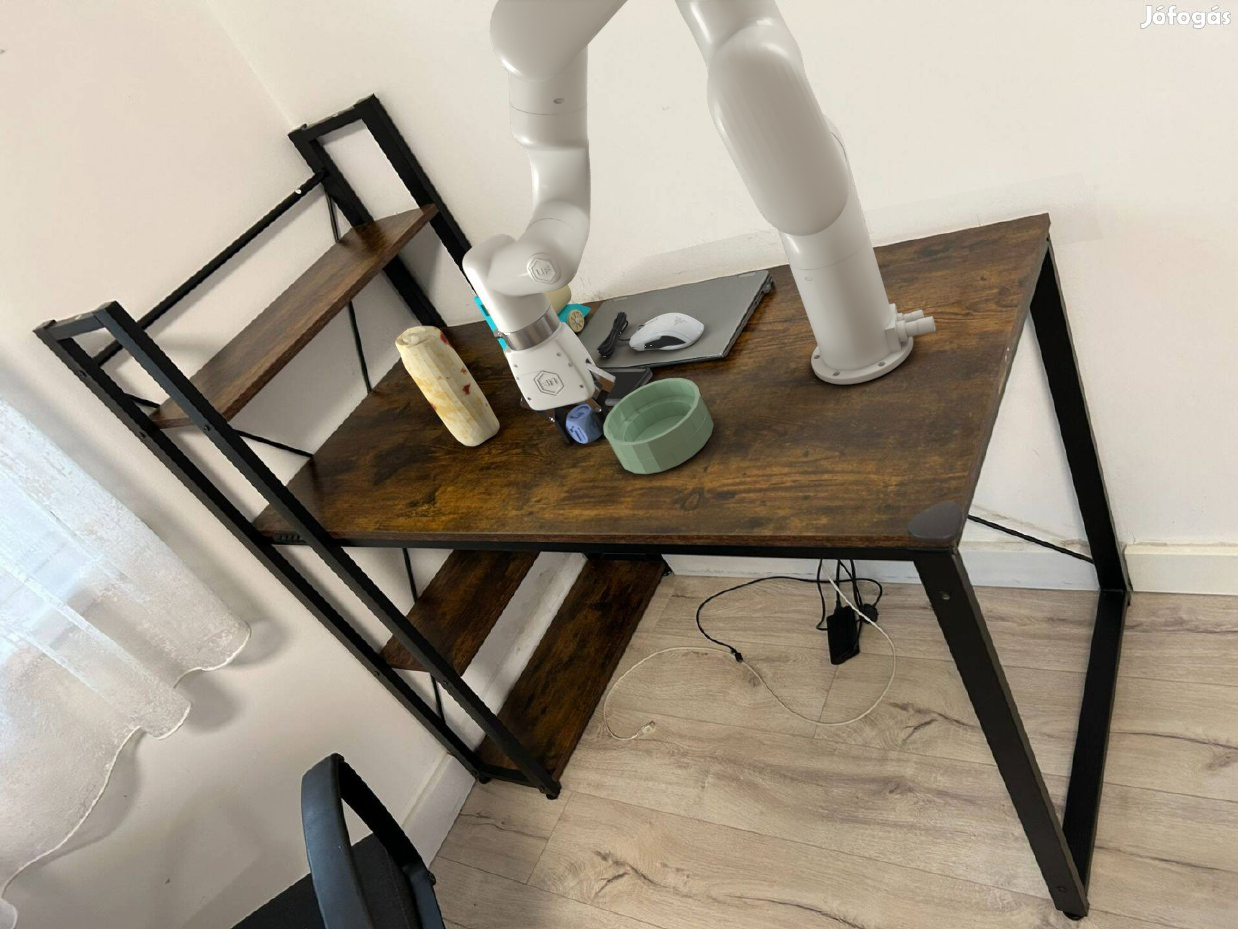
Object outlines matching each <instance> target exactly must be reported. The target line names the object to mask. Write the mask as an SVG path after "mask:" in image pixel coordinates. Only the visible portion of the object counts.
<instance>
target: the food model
mask: <svg viewBox="0 0 1238 929" xmlns="http://www.w3.org/2000/svg"><path fill="white" fill-rule="evenodd" d="M395 346H396V348H397V350H398V352H399V353H400V357H401V361H402V363H403V366H404V368H405V369H406V371H407V373H408V374H409V375H410V376H411V378H412V379H413V381H414V382H415V383H416V386H418V388H419V389H420V391H421V393H422V394H423V395H424V397H425V398H426V400H427V401H428V403H429V404H430V406H431V407H432V408H433V410H434V411H435V413H436V414H437V415H438V417H439V418H440V419H441V421H442V423H443V424H444V426H446V428H447V430H448V431H449V432H450V433H451V434H452V436H453V437H454V438H455V439H456V440H457V441H458V442H459V443H461V444H463V445H464V446H466V447H477V446H480V444H482V443H484V442H485V441H487V440H488V439H490V438H492V437H494V436H495V435H497V434H498V432H499V429H500V422H499V419H498V418H497V417H496V415H495V413H494V411H493V409H492V407H491V405H490V404H489V401H488V400H487V398H486V396H485V395H484V393H483V392H482V389H481V388H480V387H479V385H478V383H477V382H476V380H475V378H473V375H472V374H471V373H470V371H469V369H468V368H467V365H465V363H464V361H463V359H461V357H460V356H459V354H458V353H457V352H456V350H455V349H454V348H453V346H452V345H451V343H450V342H449V340H448V339H447V337H446V336H445V334H444V333H443V331H442V330H440V329H439V328H438V327H437V326H433V325H417V326H412V327H409V328H407V329H406V330H404V331H402V333H400V335H398V336H397V337H396V339H395Z"/></svg>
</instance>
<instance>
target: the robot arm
mask: <svg viewBox="0 0 1238 929" xmlns="http://www.w3.org/2000/svg"><path fill="white" fill-rule="evenodd" d="M627 2H628V0H497V1H496V3H495V5H494V8H493V10H492V11H491V16H490V21H489V38H490V44H491V47H492V51H493V53H494V56H495V57H496V60H497V61H498V62H499V64H500V65H501V67H502V68H503V69H504V70H505V71H506V72H507V73H508V74H507V76H508V78H507V79H508V97H509V99H508V100H509V101H508V102H509V125H510V126H509V128H510V133H511V136H512V138H513V140H514V141H515V142H516V143H517V144H518V145H519V146H521V147H522V148H523V149H524V151H525V152H526V155H527V157H528V158H527V159H528V162H529V166H530V174H531V175H530V176H531V177H530V178H531V197H532V201H531V203H532V208H531V209H532V213H531V218H530V220H529V222H528V225H527V226H526V228H525V230H524V231H523V233H522V234H521V236H519V238H518V239H515V238H514V237H513V236H512V235H509V234H506V233H500V234H496V235H492V236H489V237H486V238H485V239H483V240H480V241H479V242H477V243H476V244H475V245H473V246H472V247H471V248H470V249H469V250H468V251H467V252H466V253H465V254H464V256H463V258H462V263H461V264H462V269H463V272H464V274H465V276H466V277H467V279H468V281H469V282H470V284H471V286H472V287H473V289H474V291H475V293H476V295H478V296H479V298H480V299H481V301H482V303H483V304H484V307H485V309H486V310H487V312H488V314H490V316H491V318H492V320H493V321H494V323H495V325H496V326H497V328H498V329H495V330H494V333H493V336H494V338H495V339H496V340H498V339H499V338H502V339H504V341H505V342H506V344H507V347H506V349H505V352H506V356H507V358H506V360H507V359H508V360H507V362H508V365H509V368H510V370H511V373H512V375H513V377H514V379H515V382H516V384H517V386H518V389H519V390H520V392H521V394H522V395H521V399H520V407H522V408H524V409H526V410H530V411H532V412H533V411H534V413H535V414H537V415H540V416H542V417H544V418H546V420H547V421H548V422H549V423H553V424H554V426H555V427H556V429H557V431H558V432H559V434H560V436H562V438H563V439H564V441H565V443H566V444H571V443H572V442H573V440H574V439H573V438H572V437H571V436H570V434H569V433H568V431H567V429H566V418H567V415H568V414H569V412H568V410H567V409H566V408H562V407H566V406H569V405H575V404H574V403H578V402H582V401H585V402H586V403H587V404H588V405H589V406H590V407H591V408H592V409H593V410H594V412H593V418H594V419H595V421H596V423H597V425H598V427H599V428H600V430H601V432H602V436H605V435H604V423H605V420H606V418H607V415H608V414H609V413H610V411H611V410H610V409H609V407H608V406H607V405H606V404H605V401H606V399H607V397H608V395H609V393H610V392H611V390H612V388H613V387H614V385H615V382H616V380H617V379H616V377H615V376H613V375H611V374H609V373H607V372H605V371H603V370H601V369H599V368H598V367H599V366H596V364H595V362H594V360H593V358H592V356H591V355H590V353H589V352H588V350H587V349H586V347H585V345H584V344H583V343H582V341H581V339H580V338H579V337H578V336H577V335H576V334H575V333H576V332H573V331H572V330H571V328H570V327H569V326H568V325H567V324H566V323H565V322H560V320H559V318H558V316H557V315H556V313H555V311H554V309H553V307H552V305H551V304H550V302H549V300H548V298H547V296H546V294H545V293H544V292H549V291H554V290H557V289H560V288H562V287H564V286H566V285H567V284H568V285H569V284H570V283H571V282H572V281H573V279H574V278H575V276H576V275H577V272H578V270H579V267H580V264H581V261H582V258H583V255H584V252H585V249H586V245H587V243H588V239H589V235H590V231H591V230H590V229H591V204H592V203H591V202H592V201H591V200H592V198H591V197H592V195H591V194H592V176H591V175H592V174H591V159H590V140H589V134H588V64H589V44H590V43H592V41H593V40H594V39H595V37H596V36H597V35H598V34H599V33H600V32H601V31H602V30H603V29H604V27H605V26H606V25H607V24H608V23H609V22H610V21H611V20H612V18H614V16H615V15H616V14H617V13H618V12H619V11H620V9H622V8H623V6H624V5H625V4H626V3H627ZM674 2H675V4H676V6H677V9H678V11H679V14H681V17H682V18H683V21H684V22H685V23H686V26H687V27H688V28H689V31H690V32H691V35H692V37H693V39H694V41H695V43H696V45H697V48H698V49H699V51H700V54H701V56H702V58H703V61H704V64H705V67H706V70H707V79H706V80H707V81H706V99H707V100H706V101H707V105H708V109H709V113H710V116H711V119H712V121H713V124H714V127H715V129H716V130H717V133H718V135H719V137H720V138H721V141H722V143H723V145H724V146H725V148H726V151H727V152H728V154H729V157H730V158H731V160H732V162H733V164H734V165H735V168H736V169H737V172H738V173H739V175H740V177H741V179H742V181H743V183H744V185H745V187H746V189H747V191H748V193H749V195H750V197H751V199H752V201H753V203H754V204H755V206H756V208H757V211H759V213H760V214H761V216H762V217H763V219H765V221H766V222H767V223H768V224H770V225H771V227H773V228H775V229H776V230H777V232H778V235H779V239H780V241H781V244H782V248H783V251H784V253H785V256H786V258H787V261H788V262H787V263H788V265H789V268H790V271H791V273H792V276H793V279H794V282H795V284H796V287H797V290H798V293H799V296H800V299H801V301H802V304H803V307H804V310H805V312H806V315H807V319H808V322H809V324H810V327H811V330H812V332H813V335H814V338H815V341H816V344H817V346H816V347H815V349H814V350H813V352H812V355H811V358H810V359H811V360H810V363H811V364H810V365H811V367H812V370H813V372H814V374H815V376H817V377H818V379H820V380H822V381H824V382H825V383H830V384H834V385H853V384H861V383H865V382H868V381H871V380H874V379H877V378H879V377H881V376H884V375H886V374H887V373H890V372H891V371H893V370H894V369H896V368H897V367H899V366H900V365H901V364H902V363H903V362H904V361H905V360H906V359H907V357H908V356H909V355H910V353H911V351H912V350H913V346H914V337H915V336H922V335H927V334H931V333H935V332H937V330H936V323H935V319H934V316H933V315H931V316H926V317H925V314H924V310H923V309H919V310H915V311H912V312H908V313H905V314H904V313H903V312H898V309H897V305H896V303H895V302H894V303H890V302H889V298H888V295H887V291H886V288H885V285H884V282H883V278H882V275H881V271H880V269H879V264H878V261H877V257H876V255H875V251H874V247H873V244H872V240H871V237H870V232H869V228H868V225H867V221H866V218H865V214H864V212H863V208H862V204H861V201H860V197H859V194H858V191H857V187H856V183H855V179H854V176H853V172H852V169H851V165H850V161H849V157H848V154H847V149H846V146H845V143H844V139H843V137H842V134H841V132H840V130H839V129H838V127H837V125H836V124H835V123H834V121H832V120H831V118H829V117H828V116H827V115H826V114H825V113H823V111H822V109H821V107H820V106H821V105H820V104H819V102H818V100H817V97H816V94H815V93H814V90H813V88H812V86H811V83H810V81H809V79H808V76H807V73H806V71H805V65H804V60H803V55H802V52H801V48H800V46H799V44H798V42H797V40H796V38H795V37H794V36H793V34H792V32H791V30H790V29H789V26H788V25H787V23H786V21H785V18H784V17H783V15H782V13H781V11H780V9H779V7H778V4H777V2H776V0H674ZM506 356H505V357H506ZM595 382H599V383H601V384H602V385H603V386H602V388H601V390H600V389H599V388H598V387H597V386H596V385H595V384H594V383H595ZM593 396H594V397H595V398H596V399H595V398H594V397H593Z"/></svg>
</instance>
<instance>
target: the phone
mask: <svg viewBox="0 0 1238 929" xmlns="http://www.w3.org/2000/svg"><path fill="white" fill-rule="evenodd" d="M597 367H598V368H599V369H601V370H603V371H605V372H607V373H609V374H611V375H613V376H615V377H616V379H617V380H616V382H615V385H614V387H613V388H612V390H611V392H610V393H609V395H608V397H607V399H606V401H605V404H606V405H607V407H608V406H609V407H614V406H615V405H616V404H617V403H618V402H619V401H621V400H622V399H623V398H624V397H625V396H627V395H628V394H630V393H632V392H633V391H635V390H637V389H638V388H640V387H642V386H645V385H647V384H649V382H650V380H651V379H652V378H653V376H654V374H653V372H652V370H651V368H650V367H649V366H597ZM594 384H595V385H596V386H597V387H598V388H599V389H600V390H601V388H602V386H603V385H602V384H601V383H599V382H595V383H594ZM593 397H594V396H593ZM594 398H595V397H594ZM595 399H596V398H595ZM583 404H587V403H586V402H585V401H582V402H578V403H574V404H573V405H578V406H580V405H583Z"/></svg>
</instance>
